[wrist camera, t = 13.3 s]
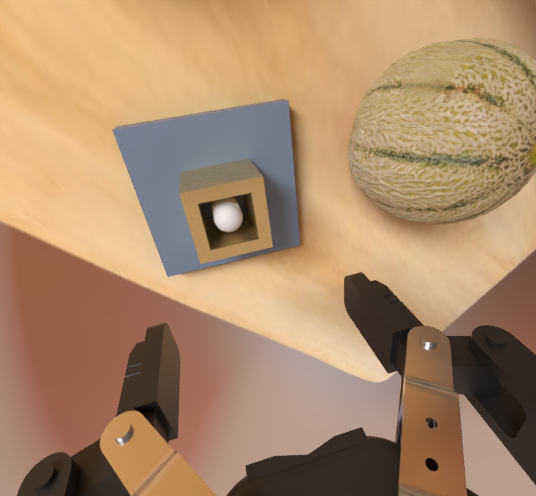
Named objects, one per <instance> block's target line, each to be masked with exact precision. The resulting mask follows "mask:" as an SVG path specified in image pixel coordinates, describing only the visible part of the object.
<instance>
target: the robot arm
mask: <svg viewBox="0 0 536 496" xmlns="http://www.w3.org/2000/svg"><path fill="white" fill-rule="evenodd" d="M344 303H345V308H346V310H347V313H348V315H349V316H350V318H351V319H352V321H353V322H354V324H355V325H356V327H357V328H358V330H359V331H360V333H361V334H362V336H363V337H364V339H365V340H366V341H367V343H368V344H369V346H370V347H371V349H372V350H373V352H374V353H375V355H376V356H377V358H378V359H379V361H380V362H381V364H382V365H383V367H384V368H385V370H386V371H387V373H388V374H389V373H392V372H395V371H398V373H399V374H400V375H401V383H400V395H399V408H398V419H397V429H396V437H395V442H392V441H390V440H387V439H384V438H380V437H374V436H366V435H365V433H364V431H363V429H362V427H361V428H358V429H355V430H352V431H349V432H346V433H343V434H340V435H337V436H334V437H333V438H331V439H330V440H328V441H327V442H326V443H324V444H323V445H322V446H320V447H319V448H317V449H316V450H314V451H313V452H311V453H310V454H308V455H290V456H273V457H271V458H267V459H264V460H261V461H258V462H255V463H252V464H249V465H247V466H246V473H247V476H246V477H244V478H243V479H242V480H240V481H239V482H238V483H237V484H236V485H235V486H234V487H233V488H232V490H231V491H230V492H229V493H228V494H227V496H478V495H477V494H475V493H474V492H472V491H471V490H469V489H467V488H466V478H465V466H464V454H463V442H462V430H461V418H460V407H459V397H458V394H464V395H465V396H466V398H467V399H468V400H469V401H470V403H471V404H472V405H473V407H474V408H475V409H476V410H477V412H478V413H479V414H480V415H481V417H482V418H483V419H484V420H485V422H486V423H487V424H488V425H489V427H490V428H491V429H492V430H493V432H494V433H495V434H496V436H497V437H498V438H499V439H500V441H502V443H503V444H504V446H505V447H506V448H507V450H509V452H510V453H511V455H512V456H513V457H514V458H515V460H516V461H517V462H518V463H519V465H520V466H521V467H522V468H523V470H524V471H525V472H526V473H527V475H528V476H529V477H530V479H531V480H532V481H533V482H534V484H535V485H536V355H535V354H534V353H533V352H532V351H530V350H529V349H528V348H527V347H526V346H525V345H524V344H522V343H521V342H520V341H519V340H518V339H516V338H515V337H514V336H513V335H512V334H510V333H509V332H507V331H505V330H503V329H501V328H498V327H494V326H488V325H486V326H479V327H477V328H475V329H474V330H473V332H472V335H471V336H446V335H445V334H444V333H442V332H441V331H439V330H438V329H435V328H433V327H429V326H424V325H423V324H422V323H421V322H420V321H419V320H418V319H417V318H416V317H415V316H414V315H413V314H412V313H411V311H410V310H409V309H408V308H407V307H406V306H405V305H404V304H403V303H402V302H400V300H399V299H398V298H397V297H396V296H395V295H394V294H393V292H392V291H391V290H390V289H389V288H388V287H387V286H386V285H384V284H382V283H380V282H378V281H376V280H375V281H370V280H369V279H368V278H367V277H366V276H365V275H364V274H363V273H361V272H360V273H356V274H353V275H349V276H346V277H345V279H344ZM179 380H180V355H179V350H178V347H177V344H176V342H175V340H174V338H173V335H172V333H171V331H170V329H169V326H168V324H167V323H163V324H160V325H155V326H151V327H148V328H147V331H146V337H145V341H144V342H140V343H137V344H136V345H135V347H134V348H133V350H132V352H131V353H130V355H129V359H128V364H127V369H126V373H125V378H124V383H123V388H122V392H121V397H120V402H119V407H118V411H117V415H116V417H115V418H114V419H113V420H112V421H111V422H110V423H109V424H108V425H107V427H106V428H105V430H104V431H103V433H102V436H101V438H100V439H99V440H97V441H96V442H94V443H93V444H91V445H90V446H88V447H86V448H85V449H84V450H82V451H80V452H78V453H77V454H75V455H73V456H72V457H70V456H69V455H68V454H66V453H62V452H59V453H54V454H52V455H49V456H47V457H46V458H44V459H43V460H41V461H40V462H39V463H37V464H36V465H35V466H34V467H33V468H32V469H31V471H30V472H29V473H28V474H27V476H26V477H25V478H24V480H23V482H22V484H21V486H20V489H19V491H18V494H17V496H216V494H215V493H214V492H213V491H212V490H211V489H210V488H209V487H208V485H207V484H206V483H205V482H204V481H203V480H202V479H201V478H200V477H199V475H198V474H197V473H196V472H195V471H194V470H193V469H192V468H191V466H190V465H189V464H188V463H187V462H186V461H185V460H184V459H183V457H182V456H181V455H180V454H179V453H178V452H177V451H174V450H173V449H172V448H171V447H170V446H169V444H168V441H169V440H173V439H176V438H178V416H179V415H178V414H179V382H180V381H179Z"/></svg>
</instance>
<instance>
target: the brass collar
mask: <svg viewBox="0 0 536 496" xmlns="http://www.w3.org/2000/svg"><path fill="white" fill-rule="evenodd" d="M179 194H180V198H181V201H182V204H183V208H184V211H185V214H186V218H187V221H188V224H189V228H190V231H191V234H192V238H193V241H194V244H195V248H196V251H197V254H198V258H199V261H200V264H204V263H208V262H212V261H216V260H220V259H225V258H229V257H233V256H237V255H241V254H246V253H250V252H254V251H258V250H262V249H267V248H271V247H273V244H272V237H271V229H270V222H269V215H268V208H267V201H266V194H265V187H264V180H263V176H262V174H261V173H260V172H259V171H258V169H257V168H256V167H255V165H254V164H253V163H252V162H251V160H250V159H244V160H239V161H233V162H228V163H223V164H218V165H213V166H208V167H203V168H197V169H192V170H187V171H182V172H180V188H179ZM243 194H244V199H245V204H246V210H247V212H246V213H242V215H243V220H242V223H241V225H240V227H239V228H238V229H236V230H235V231H232V232H225V231H222V230H220V229H219V228H218V227H217V226H216V224H215V222H214V220H210V221H206V218H205V214H204V211H203V207H202V203H205V202H209V201H214V200H219V199H224V198H228V197H233V196H238V195H243Z"/></svg>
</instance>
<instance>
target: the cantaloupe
mask: <svg viewBox="0 0 536 496" xmlns="http://www.w3.org/2000/svg"><path fill="white" fill-rule="evenodd" d="M348 151H349V153H348V158H349V166H350V169H351V172H352V175H353V177H354V179H355V181H356V184H357V185H358V186H359V188H360V189H361V190H362V191H363V192H364V193H365V195H366V196H367V197H368V198H369V199H370V200H371V201H372V202H373V203H374V204H376V205H377V206H378V207H379V208H381V209H382V210H384V211H386V212H388V213H389V214H392V215H394V216H396V217H399V218H402V219H405V220H409V221H413V222H421V223H429V224H449V223H458V222H461V221H466V220H470V219H474V218H476V217H478V216H480V215H484V214H486V213H488V212H490V211H492V210H494V209H496V208H497V207H499V206H500V205H502V204H503V203H505V202H506V201H507V200H509V199H510V198H512V197H513V196H514V195H515V194H517V193H518V192H519V191H520V190H521V189H522V188H523V186H525V185H526V184H527V183H528V181H529V180H530V179H531V177H532V176H533V174H534V173H535V171H536V60H535V59H533V58H532V57H531V56H530V55H529V54H528V53H526V52H525V51H524V50H522V49H521V48H519V47H517V46H514V45H511V44H508V43H506V42H503V41H499V40H491V39H477V38H472V39H463V40H456V41H446V42H441V43H436V44H431V45H429V46H426V47H423V48H422V49H420V50H417V51H414V52H411V53H409V54H407V55H405V56H404V57H402V58H401V59H400V60H398V61H397V62H395V63H394V64H392V65H391V66H390V67H389V68H388V69H387V70H386V71H384V73H383V74H382V75H381V76H379V78H378V79H377V81H376V82H375V83H374V84H373V85H372V86H371V87H370V89H369V90H368V92H367V93H366V96H365V98H364V99H363V101H362V102H361V104H360V106H359V108H358V111H357V113H356V116H355V120H354V124H353V128H352V133H351V137H350V141H349V146H348Z"/></svg>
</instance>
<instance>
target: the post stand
mask: <svg viewBox="0 0 536 496" xmlns="http://www.w3.org/2000/svg"><path fill="white" fill-rule="evenodd" d="M113 133H114V135H115V138H116V141H117V143H118V146H119V149H120V151H121V154H122V157H123V159H124V162H125V165H126V167H127V170H128V173H129V175H130V178H131V181H132V183H133V186H134V189H135V191H136V194H137V196H138V199H139V202H140V204H141V207H142V210H143V212H144V215H145V218H146V220H147V223H148V226H149V228H150V231H151V234H152V236H153V239H154V242H155V244H156V247H157V250H158V252H159V255H160V258H161V260H162V263H163V266H164V268H165V271H166V274H167V276H168V277H169V276H173V275H178V274H182V273H186V272H190V271H194V270H199V269H203V268H207V267H211V266H216V265H220V264H224V263H228V262H232V261H237V260H241V259H245V258H249V257H254V256H258V255H262V254H266V253H270V252H275V251H279V250H283V249H287V248H292V247H296V246H300V235H299V223H298V211H297V198H296V186H295V174H294V162H293V149H292V137H291V125H290V112H289V101H288V100H283V99H281V100H275V101H269V102H263V103H257V104H251V105H245V106H239V107H233V108H227V109H221V110H215V111H209V112H203V113H197V114H191V115H185V116H178V117H172V118H166V119H160V120H154V121H148V122H142V123H136V124H130V125H124V126H118V127H116V128H115V129H113ZM244 159H250V160H251V162H252V163H253V164H254V165H255V167H256V168H257V169H258V171H259V172H260V173H261V174H262V176H263V180H264V187H265V194H266V201H267V208H268V215H269V222H270V229H271V237H272V244H273V247H271V248H267V249H262V250H258V251H254V252H250V253H246V254H241V255H237V256H233V257H229V258H225V259H220V260H216V261H212V262H208V263H204V264H200V261H199V258H198V254H197V251H196V248H195V244H194V241H193V238H192V234H191V231H190V228H189V224H188V221H187V218H186V214H185V211H184V208H183V204H182V201H181V198H180V194H179V188H180V172H182V171H187V170H192V169H197V168H203V167H208V166H213V165H218V164H223V163H228V162H233V161H239V160H244ZM202 207H203V211H204V214H205V218H206V221H210V220H214V222H215V224H216V226H217V227H218V228H219V229H220V230H222V231H225V232H232V231H235V230H236V229H238V228H239V227H240V225H241V223H242V220H243V215H242V213H246V212H247V210H246V204H245V199H244V194H243V195H238V196H233V197H228V198H224V199H219V200H214V201H209V202H205V203H202Z"/></svg>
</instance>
